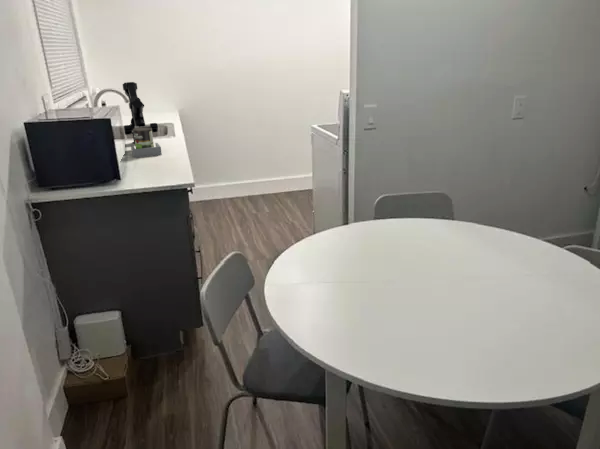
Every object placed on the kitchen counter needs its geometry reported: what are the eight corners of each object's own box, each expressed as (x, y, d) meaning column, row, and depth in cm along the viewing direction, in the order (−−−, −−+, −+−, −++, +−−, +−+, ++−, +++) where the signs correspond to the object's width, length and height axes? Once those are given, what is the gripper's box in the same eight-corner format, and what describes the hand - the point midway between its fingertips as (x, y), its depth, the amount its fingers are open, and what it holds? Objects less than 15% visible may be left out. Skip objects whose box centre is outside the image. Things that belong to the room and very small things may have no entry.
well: (131, 153, 270) (130, 145, 269) (158, 150, 276) (157, 142, 274) (134, 157, 259) (133, 149, 258) (161, 154, 265) (160, 146, 263)
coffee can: (145, 156, 262) (141, 131, 257) (132, 154, 267) (128, 129, 262) (159, 152, 271) (155, 127, 265) (146, 150, 275) (142, 126, 270)
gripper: (154, 125, 286) (159, 146, 281) (122, 128, 279) (127, 150, 274) (155, 114, 277) (160, 136, 271) (121, 116, 270) (126, 139, 265)
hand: (143, 140), depth 271 cm, fingers closed, pressing on coffee can
